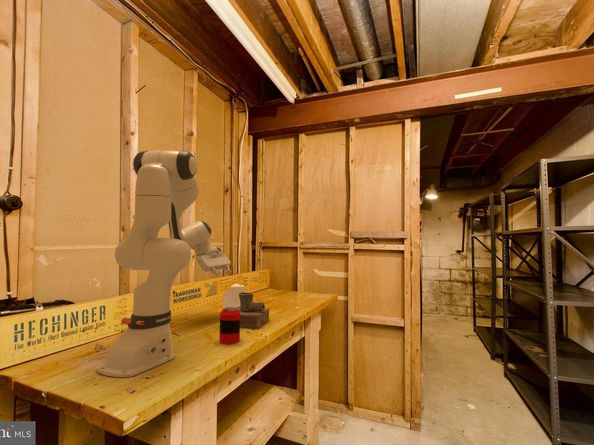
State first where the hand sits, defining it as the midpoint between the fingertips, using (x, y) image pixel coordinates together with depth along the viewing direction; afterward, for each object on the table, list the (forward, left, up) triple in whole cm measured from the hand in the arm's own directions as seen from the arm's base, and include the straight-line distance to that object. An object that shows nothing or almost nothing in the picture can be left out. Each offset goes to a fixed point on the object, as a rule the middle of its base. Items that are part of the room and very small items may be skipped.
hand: (224, 274), depth 138 cm
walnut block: (0, -12, -22) cm, 25 cm away
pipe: (0, -14, -16) cm, 21 cm away
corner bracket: (+26, +10, -22) cm, 35 cm away
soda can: (-23, -16, -22) cm, 35 cm away
